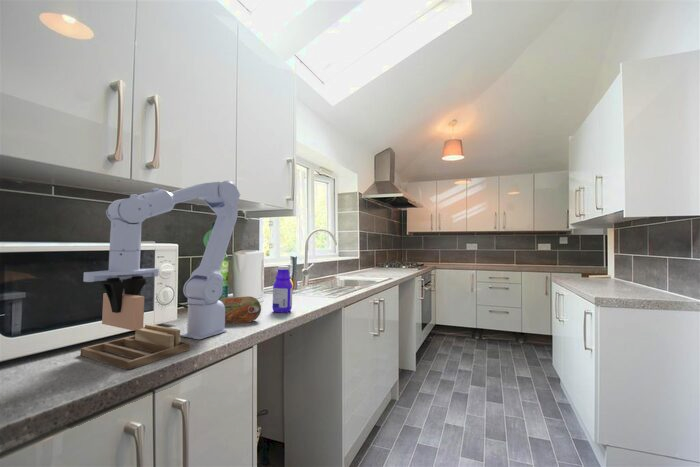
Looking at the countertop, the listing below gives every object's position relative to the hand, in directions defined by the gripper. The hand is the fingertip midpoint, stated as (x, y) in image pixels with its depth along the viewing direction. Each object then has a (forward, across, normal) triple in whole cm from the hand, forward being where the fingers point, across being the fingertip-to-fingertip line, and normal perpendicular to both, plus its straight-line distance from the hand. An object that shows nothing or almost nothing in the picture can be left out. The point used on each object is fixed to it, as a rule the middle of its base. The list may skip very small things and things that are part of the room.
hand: (122, 311), depth 69 cm
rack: (+10, -4, +1) cm, 11 cm away
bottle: (+10, -54, +3) cm, 56 cm away
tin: (+10, -34, 0) cm, 36 cm away
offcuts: (+10, -7, +1) cm, 12 cm away
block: (+3, 0, 0) cm, 3 cm away
